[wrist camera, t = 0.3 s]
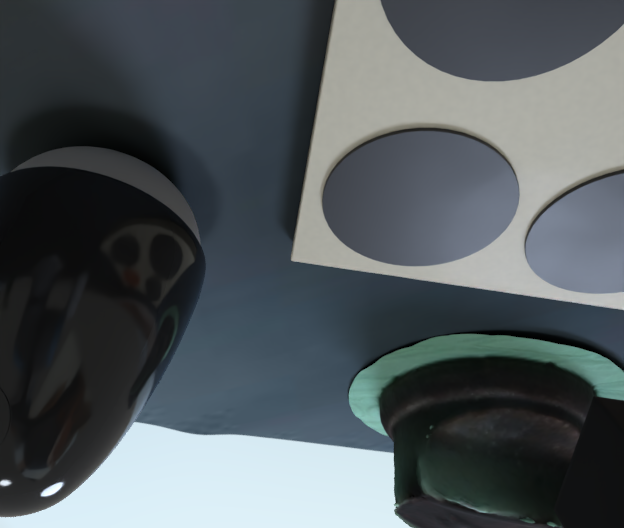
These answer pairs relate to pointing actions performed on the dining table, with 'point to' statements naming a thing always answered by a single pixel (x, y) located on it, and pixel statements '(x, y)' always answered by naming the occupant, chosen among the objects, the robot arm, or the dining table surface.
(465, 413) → the black green hat
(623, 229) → the hob plate
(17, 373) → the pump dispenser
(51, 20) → the dining table surface
